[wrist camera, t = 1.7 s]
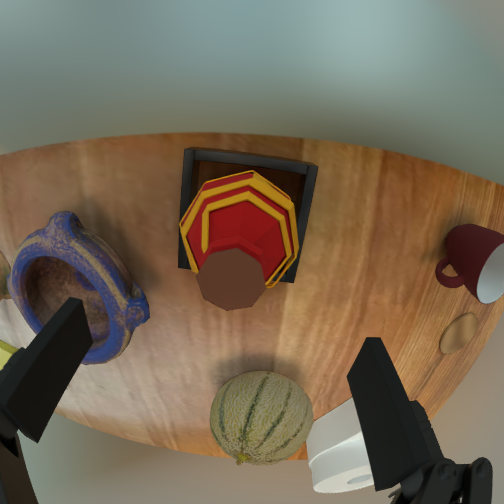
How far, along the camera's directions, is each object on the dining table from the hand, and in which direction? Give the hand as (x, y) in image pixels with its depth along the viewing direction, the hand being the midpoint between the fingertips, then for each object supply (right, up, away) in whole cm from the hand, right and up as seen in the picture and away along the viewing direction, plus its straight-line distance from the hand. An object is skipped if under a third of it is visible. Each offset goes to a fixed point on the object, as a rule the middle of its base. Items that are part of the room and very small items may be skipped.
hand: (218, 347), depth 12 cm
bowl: (-20, +2, +22) cm, 30 cm away
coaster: (+38, -10, +26) cm, 47 cm away
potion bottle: (+1, +9, +18) cm, 20 cm away
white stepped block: (+24, -31, +36) cm, 53 cm away
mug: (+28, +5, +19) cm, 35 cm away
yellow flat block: (-63, -23, +34) cm, 76 cm away
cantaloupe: (+3, -16, +30) cm, 34 cm away
